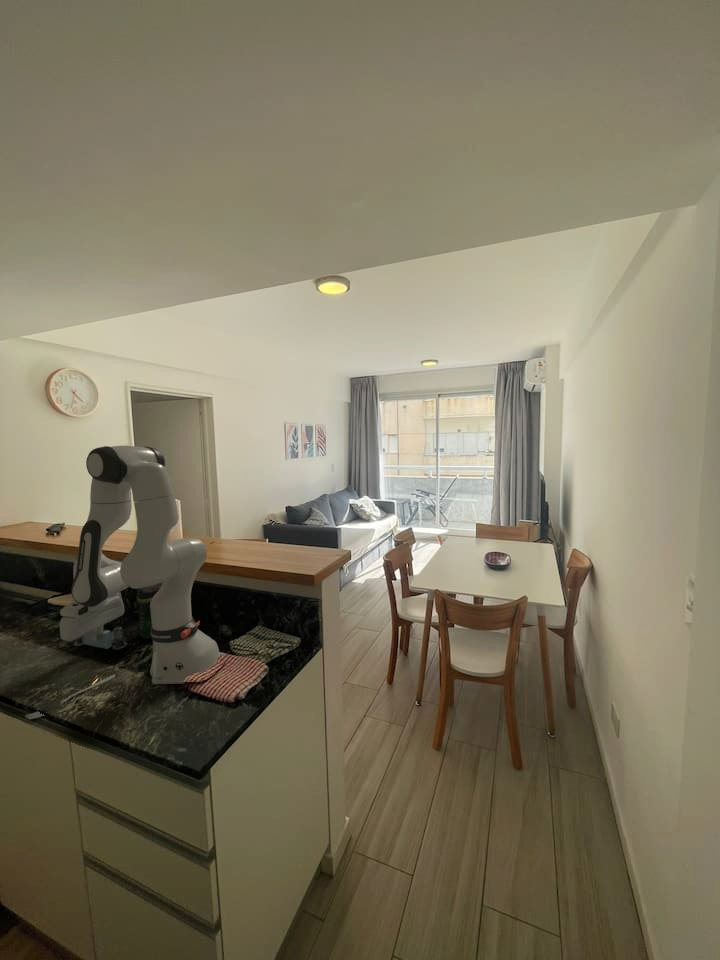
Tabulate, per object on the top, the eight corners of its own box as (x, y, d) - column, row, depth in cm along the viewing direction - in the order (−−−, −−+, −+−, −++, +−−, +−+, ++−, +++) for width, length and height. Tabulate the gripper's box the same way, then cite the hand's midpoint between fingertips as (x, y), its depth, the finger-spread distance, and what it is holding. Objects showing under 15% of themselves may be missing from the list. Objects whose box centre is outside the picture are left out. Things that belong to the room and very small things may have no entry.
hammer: (131, 642, 132) (129, 625, 131) (119, 650, 127) (118, 632, 126) (115, 641, 133) (113, 623, 133) (103, 648, 128) (101, 630, 128)
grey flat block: (82, 643, 131) (80, 629, 131) (88, 641, 133) (86, 626, 133) (106, 649, 127) (105, 633, 127) (112, 646, 129) (110, 630, 129)
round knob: (92, 640, 135) (90, 622, 134) (80, 646, 130) (78, 629, 130) (82, 639, 136) (80, 622, 135) (70, 645, 131) (68, 628, 131)
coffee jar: (145, 642, 132) (140, 591, 130) (137, 635, 137) (132, 586, 135) (173, 631, 139) (169, 582, 137) (164, 625, 144) (160, 578, 143)
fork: (127, 672, 115) (127, 666, 115) (30, 726, 94) (29, 719, 94) (121, 669, 116) (121, 664, 116) (24, 722, 95) (23, 715, 95)
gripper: (113, 588, 136) (116, 624, 138) (54, 613, 117) (59, 655, 118) (127, 589, 135) (130, 626, 136) (69, 615, 115) (74, 657, 116)
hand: (96, 639), depth 127 cm, fingers closed
